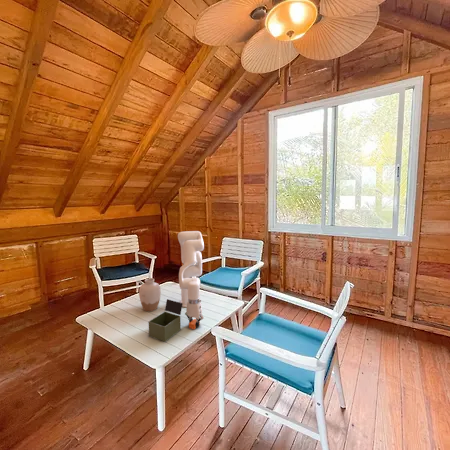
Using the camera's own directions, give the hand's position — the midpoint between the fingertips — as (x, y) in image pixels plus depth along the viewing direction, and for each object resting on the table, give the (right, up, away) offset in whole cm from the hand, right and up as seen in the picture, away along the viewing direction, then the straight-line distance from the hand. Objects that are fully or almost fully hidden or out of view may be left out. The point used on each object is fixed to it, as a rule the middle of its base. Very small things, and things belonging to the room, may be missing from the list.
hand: (194, 325), depth 167 cm
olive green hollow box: (-18, -1, -7) cm, 19 cm away
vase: (-36, +3, +25) cm, 44 cm away
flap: (-14, +13, -2) cm, 19 cm away
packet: (0, 0, 0) cm, 0 cm away
